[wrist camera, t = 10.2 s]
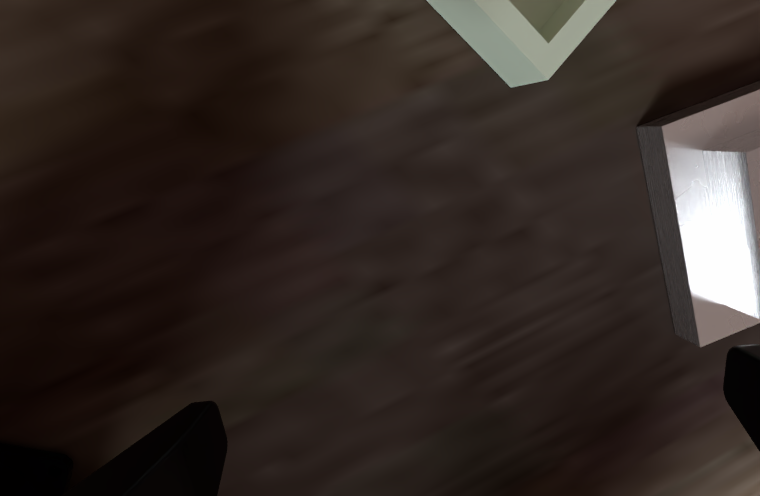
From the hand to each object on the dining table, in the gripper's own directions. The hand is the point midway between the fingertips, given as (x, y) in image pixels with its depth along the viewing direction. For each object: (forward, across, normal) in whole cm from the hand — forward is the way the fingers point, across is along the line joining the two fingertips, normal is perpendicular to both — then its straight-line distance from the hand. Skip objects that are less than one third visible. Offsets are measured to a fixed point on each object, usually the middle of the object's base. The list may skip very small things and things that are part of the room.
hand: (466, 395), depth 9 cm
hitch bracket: (+15, -17, +2) cm, 22 cm away
